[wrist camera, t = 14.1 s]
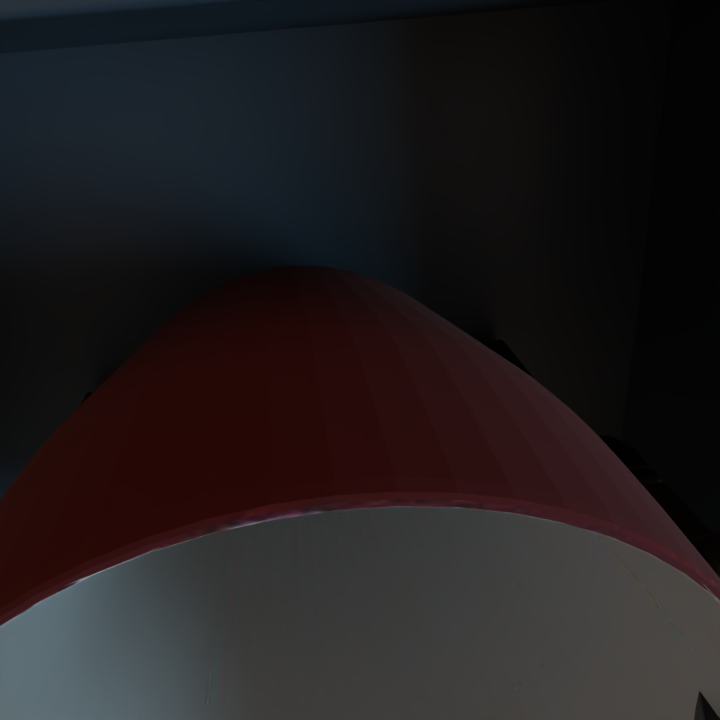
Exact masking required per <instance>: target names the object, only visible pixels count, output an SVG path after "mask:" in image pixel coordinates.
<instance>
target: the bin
mask: <svg viewBox="0 0 720 720" xmlns="http://www.w3.org/2000/svg"><path fill="white" fill-rule="evenodd" d="M287 266H321V267H332V268H337V269H343V270H348V271H352V272H356V273H359V274H363V275H366V276H369V277H372V278H374V279H377V280H379V281H382V282H384V283H386V284H388V285H390V286H392V287H394V288H396V289H398V290H400V291H402V292H404V293H406V294H408V295H409V296H411V297H412V298H414V299H415V300H417V301H418V302H420V303H421V304H423V305H424V306H426V307H427V308H429V309H430V310H432V311H433V312H435V313H436V314H438V315H439V316H441V317H442V318H444V319H446V320H447V321H449V322H450V323H452V324H453V325H455V326H456V327H458V328H459V329H461V330H462V331H464V332H465V333H467V334H468V335H470V336H471V337H473V338H474V339H476V340H477V341H479V342H487V341H494V340H503V341H504V342H505V343H506V344H507V346H508V347H509V348H510V349H511V351H512V352H513V353H514V354H515V355H516V357H517V358H518V359H519V360H520V362H521V363H522V364H523V365H524V366H525V368H526V369H527V370H528V371H529V372H530V374H531V375H532V376H533V377H534V379H535V380H536V381H537V382H539V383H540V384H541V385H542V386H543V387H545V388H546V389H547V390H548V391H550V392H551V393H552V394H553V395H554V396H556V397H557V398H558V399H559V400H560V401H562V402H563V403H564V404H565V405H566V406H568V407H569V408H570V409H571V410H572V411H573V412H574V413H575V414H576V415H577V416H578V417H579V418H581V419H582V420H583V421H584V422H585V423H586V424H587V425H588V426H589V427H590V428H591V429H592V430H593V431H594V432H595V433H596V434H597V435H598V436H599V437H600V436H607V435H611V436H612V437H614V438H616V439H618V440H620V441H621V442H623V443H625V444H627V445H629V446H630V447H632V448H634V449H635V450H636V451H637V453H638V454H639V455H640V456H641V457H642V458H643V459H644V460H645V461H646V462H647V463H648V464H649V467H650V469H653V470H654V471H655V472H656V473H657V474H658V475H659V476H660V477H661V478H662V482H663V483H666V484H667V485H668V486H669V487H670V488H671V489H672V490H673V491H674V492H675V494H676V495H677V496H678V497H679V498H680V499H681V500H682V501H683V502H684V503H685V504H686V505H687V506H688V508H689V509H690V510H691V511H692V512H693V513H694V514H695V515H696V516H697V517H698V518H699V519H700V521H701V522H702V523H703V524H704V525H705V526H706V527H707V528H708V529H709V530H710V531H711V532H715V533H719V534H720V0H0V500H1V498H2V497H3V495H4V494H5V492H6V491H7V490H8V488H9V487H10V485H11V484H12V483H13V481H14V480H15V479H16V477H17V476H18V475H19V474H20V472H21V471H22V470H23V468H24V467H25V466H26V465H27V463H28V462H29V461H30V459H31V458H32V457H33V456H34V454H35V453H36V452H37V451H38V450H39V449H40V447H41V446H42V445H43V444H44V443H45V441H46V440H47V439H48V438H49V437H50V436H51V435H52V434H53V433H54V432H55V431H56V430H57V429H58V428H59V427H60V426H61V425H62V424H63V422H64V421H65V420H66V419H67V418H68V417H69V416H70V415H71V414H72V413H73V412H74V411H75V410H76V409H77V408H78V407H79V406H80V404H81V403H82V401H83V399H84V397H85V395H86V394H87V392H94V391H95V390H96V389H97V388H98V387H99V386H100V385H101V384H102V383H103V382H104V381H105V380H107V379H108V378H109V377H110V376H111V375H112V374H113V373H114V372H115V371H116V370H117V369H118V368H119V367H120V366H121V365H122V364H123V363H124V362H125V361H126V360H127V359H128V358H129V357H130V356H131V355H132V354H133V353H134V352H135V351H136V350H137V349H138V348H139V347H140V346H141V345H143V344H144V343H145V342H146V341H147V340H148V339H149V338H150V337H151V336H152V335H153V334H154V333H155V332H156V331H157V330H158V329H159V328H160V327H161V326H162V325H163V324H164V323H165V322H166V321H167V320H168V319H170V318H171V317H172V316H173V315H175V314H176V313H177V312H178V311H179V310H181V309H182V308H183V307H184V306H186V305H187V304H188V303H190V302H191V301H193V300H194V299H196V298H197V297H199V296H200V295H202V294H203V293H205V292H207V291H209V290H211V289H213V288H215V287H217V286H218V285H220V284H223V283H225V282H228V281H230V280H233V279H235V278H237V277H241V276H244V275H247V274H250V273H254V272H257V271H262V270H267V269H272V268H278V267H287Z"/></svg>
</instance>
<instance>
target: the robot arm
mask: <svg viewBox="0 0 720 720" xmlns="http://www.w3.org/2000/svg"><path fill="white" fill-rule="evenodd" d="M480 343H482V344H483V345H485V346H487V347H488V348H490V349H491V350H493V351H494V352H496V353H497V354H499V355H500V356H502V357H503V358H505V359H506V360H508V361H509V362H511V363H512V364H514V365H515V366H517V367H518V368H520V369H521V370H522V371H524V372H525V373H527V374H528V375H529V376H531V377H532V378H534V377H533V376H532V375H531V374H530V372H529V371H528V370H527V369H526V368H525V366H524V365H523V364H522V363H521V362H520V360H519V359H518V358H517V357H516V355H515V354H514V353H513V352H512V351H511V349H510V348H509V347H508V346H507V344H506V343H505V342H504V341H503V340H494V341H487V342H480ZM92 393H93V392H87V394H86V395H85V397H84V399H83V401H82V403H83V402H84V401H85V400H86V399H87V398H88V397H89V396H90V395H91V394H92ZM82 403H81V404H82ZM81 404H80V405H81ZM600 438H601V439H602V441H603V442H604V443H605V444H606V445H607V446H608V447H609V448H610V449H611V450H612V451H613V452H614V453H615V455H616V456H617V457H618V458H619V459H620V460H621V461H622V462H623V464H624V465H625V466H626V467H627V468H628V469H629V471H630V472H631V473H632V474H633V475H634V476H635V477H636V479H637V480H638V481H639V482H640V483H641V484H642V485H643V487H644V488H645V489H646V490H647V491H648V492H649V493H650V495H651V496H652V497H653V498H654V499H655V500H656V501H657V503H658V504H659V505H660V506H661V507H662V508H663V509H664V511H665V512H666V513H667V514H668V515H669V517H670V518H671V519H672V520H673V522H674V523H675V524H676V525H677V526H678V528H679V529H680V530H681V531H682V533H683V534H684V535H685V536H686V537H687V539H688V540H689V541H690V542H691V544H692V545H693V546H694V547H695V548H696V550H697V551H698V552H699V553H700V554H701V556H702V557H703V558H704V559H705V561H706V562H707V563H708V564H709V565H710V567H711V568H712V569H713V570H714V572H715V573H716V574H717V575H718V576H719V578H720V534H719V533H715V532H711V531H710V530H709V529H708V528H707V527H706V526H705V525H704V524H703V523H702V522H701V521H700V519H699V518H698V517H697V516H696V515H695V514H694V513H693V512H692V511H691V510H690V509H689V508H688V506H687V505H686V504H685V503H684V502H683V501H682V500H681V499H680V498H679V497H678V496H677V495H676V494H675V492H674V491H673V490H672V489H671V488H670V487H669V486H668V485H667V484H666V483H663V482H662V478H661V477H660V476H659V475H658V474H657V473H656V472H655V471H654V470H653V469H650V467H649V464H648V463H647V462H646V461H645V460H644V459H643V458H642V457H641V456H640V455H639V454H638V453H637V451H636V450H635V449H634V448H632V447H630V446H629V445H627V444H625V443H623V442H621V441H620V440H618V439H616V438H614V437H612V436H611V435H607V436H600ZM694 720H720V718H719V717H718V715H717V714H716V712H715V711H714V710H713V708H712V707H711V706H710V704H709V703H708V701H707V700H706V699H705V697H704V696H703V695H702V693H701V692H700V691H699V694H698V699H697V703H696V709H695V717H694Z"/></svg>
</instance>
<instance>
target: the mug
mask: <svg viewBox="0 0 720 720" xmlns="http://www.w3.org/2000/svg"><path fill="white" fill-rule="evenodd" d="M699 691H700V692H701V693H702V695H703V696H704V697H705V699H706V700H707V701H708V703H709V704H710V706H711V707H712V708H713V710H714V711H715V712H716V714H717V715H718V717H719V718H720V578H719V576H718V575H717V574H716V573H715V572H714V570H713V569H712V568H711V567H710V565H709V564H708V563H707V562H706V561H705V559H704V558H703V557H702V556H701V554H700V553H699V552H698V551H697V550H696V548H695V547H694V546H693V545H692V544H691V542H690V541H689V540H688V539H687V537H686V536H685V535H684V534H683V533H682V531H681V530H680V529H679V528H678V526H677V525H676V524H675V523H674V522H673V520H672V519H671V518H670V517H669V515H668V514H667V513H666V512H665V511H664V509H663V508H662V507H661V506H660V505H659V504H658V503H657V501H656V500H655V499H654V498H653V497H652V496H651V495H650V493H649V492H648V491H647V490H646V489H645V488H644V487H643V485H642V484H641V483H640V482H639V481H638V480H637V479H636V477H635V476H634V475H633V474H632V473H631V472H630V471H629V469H628V468H627V467H626V466H625V465H624V464H623V462H622V461H621V460H620V459H619V458H618V457H617V456H616V455H615V453H614V452H613V451H612V450H611V449H610V448H609V447H608V446H607V445H606V444H605V443H604V442H603V441H602V439H601V438H600V437H599V436H598V435H597V434H596V433H595V432H594V431H593V430H592V429H591V428H590V427H589V426H588V425H587V424H586V423H585V422H584V421H583V420H582V419H581V418H579V417H578V416H577V415H576V414H575V413H574V412H573V411H572V410H571V409H570V408H569V407H568V406H566V405H565V404H564V403H563V402H562V401H560V400H559V399H558V398H557V397H556V396H554V395H553V394H552V393H551V392H550V391H548V390H547V389H546V388H545V387H543V386H542V385H541V384H540V383H539V382H537V381H536V380H535V379H534V378H532V377H531V376H529V375H528V374H527V373H525V372H524V371H522V370H521V369H520V368H518V367H517V366H515V365H514V364H512V363H511V362H509V361H508V360H506V359H505V358H503V357H502V356H500V355H499V354H497V353H496V352H494V351H493V350H491V349H490V348H488V347H487V346H485V345H483V344H482V343H480V342H479V341H477V340H476V339H474V338H473V337H471V336H470V335H468V334H467V333H465V332H464V331H462V330H461V329H459V328H458V327H456V326H455V325H453V324H452V323H450V322H449V321H447V320H446V319H444V318H442V317H441V316H439V315H438V314H436V313H435V312H433V311H432V310H430V309H429V308H427V307H426V306H424V305H423V304H421V303H420V302H418V301H417V300H415V299H414V298H412V297H411V296H409V295H408V294H406V293H404V292H402V291H400V290H398V289H396V288H394V287H392V286H390V285H388V284H386V283H384V282H382V281H379V280H377V279H374V278H372V277H369V276H366V275H363V274H359V273H356V272H352V271H348V270H343V269H337V268H332V267H321V266H287V267H278V268H272V269H267V270H262V271H257V272H254V273H250V274H247V275H244V276H241V277H237V278H235V279H233V280H230V281H228V282H225V283H223V284H220V285H218V286H217V287H215V288H213V289H211V290H209V291H207V292H205V293H203V294H202V295H200V296H199V297H197V298H196V299H194V300H193V301H191V302H190V303H188V304H187V305H186V306H184V307H183V308H182V309H181V310H179V311H178V312H177V313H176V314H175V315H173V316H172V317H171V318H170V319H168V320H167V321H166V322H165V323H164V324H163V325H162V326H161V327H160V328H159V329H158V330H157V331H156V332H155V333H154V334H153V335H152V336H151V337H150V338H149V339H148V340H147V341H146V342H145V343H144V344H143V345H141V346H140V347H139V348H138V349H137V350H136V351H135V352H134V353H133V354H132V355H131V356H130V357H129V358H128V359H127V360H126V361H125V362H124V363H123V364H122V365H121V366H120V367H119V368H118V369H117V370H116V371H115V372H114V373H113V374H112V375H111V376H110V377H109V378H108V379H107V380H105V381H104V382H103V383H102V384H101V385H100V386H99V387H98V388H97V389H96V390H95V391H94V392H93V393H92V394H91V395H90V396H89V397H88V398H87V399H86V400H85V401H84V402H83V403H82V404H81V405H80V406H79V407H78V408H77V409H76V410H75V411H74V412H73V413H72V414H71V415H70V416H69V417H68V418H67V419H66V420H65V421H64V422H63V424H62V425H61V426H60V427H59V428H58V429H57V430H56V431H55V432H54V433H53V434H52V435H51V436H50V437H49V438H48V439H47V440H46V441H45V443H44V444H43V445H42V446H41V447H40V449H39V450H38V451H37V452H36V453H35V454H34V456H33V457H32V458H31V459H30V461H29V462H28V463H27V465H26V466H25V467H24V468H23V470H22V471H21V472H20V474H19V475H18V476H17V477H16V479H15V480H14V481H13V483H12V484H11V485H10V487H9V488H8V490H7V491H6V492H5V494H4V495H3V497H2V498H1V500H0V720H694V717H695V709H696V703H697V699H698V694H699Z"/></svg>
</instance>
